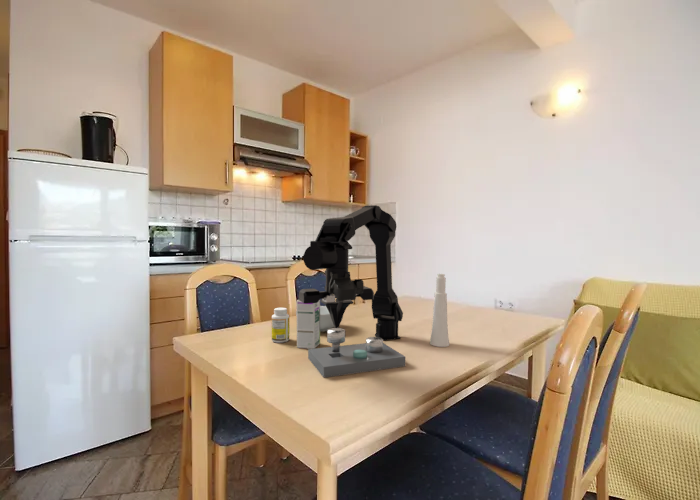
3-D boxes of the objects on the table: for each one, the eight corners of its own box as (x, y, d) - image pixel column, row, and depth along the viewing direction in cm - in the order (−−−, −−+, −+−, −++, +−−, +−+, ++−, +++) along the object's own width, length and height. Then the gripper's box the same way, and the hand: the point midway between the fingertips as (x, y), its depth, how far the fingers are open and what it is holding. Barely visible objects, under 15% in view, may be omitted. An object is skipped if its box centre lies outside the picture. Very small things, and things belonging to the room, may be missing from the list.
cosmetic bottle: (453, 345, 109) (455, 274, 108) (439, 348, 106) (441, 275, 105) (439, 340, 114) (441, 272, 113) (425, 343, 111) (427, 273, 110)
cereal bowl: (348, 325, 133) (348, 306, 133) (336, 337, 117) (336, 315, 116) (305, 322, 137) (305, 304, 137) (288, 333, 121) (288, 312, 120)
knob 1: (341, 347, 94) (341, 327, 94) (347, 353, 90) (347, 331, 89) (324, 349, 92) (325, 328, 92) (330, 355, 88) (330, 333, 88)
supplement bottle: (281, 337, 115) (282, 306, 115) (292, 340, 112) (293, 308, 112) (267, 340, 111) (268, 308, 111) (278, 344, 108) (279, 311, 107)
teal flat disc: (363, 353, 92) (363, 349, 92) (369, 358, 89) (369, 353, 89) (350, 355, 91) (351, 350, 91) (356, 359, 88) (356, 354, 88)
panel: (380, 349, 104) (380, 341, 103) (405, 366, 91) (405, 356, 90) (308, 358, 95) (308, 349, 95) (323, 377, 82) (323, 367, 82)
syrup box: (314, 349, 103) (315, 300, 103) (295, 347, 105) (296, 299, 104) (320, 343, 109) (320, 297, 108) (302, 342, 110) (302, 296, 110)
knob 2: (378, 355, 98) (378, 336, 98) (385, 361, 94) (386, 340, 94) (363, 357, 96) (363, 337, 96) (370, 363, 92) (370, 342, 92)
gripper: (310, 271, 79) (309, 339, 80) (384, 269, 86) (383, 332, 87) (298, 267, 90) (298, 327, 90) (365, 265, 96) (364, 322, 97)
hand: (336, 327), depth 91 cm, fingers closed
